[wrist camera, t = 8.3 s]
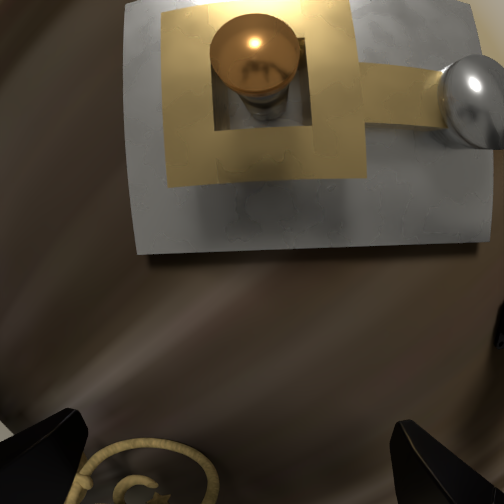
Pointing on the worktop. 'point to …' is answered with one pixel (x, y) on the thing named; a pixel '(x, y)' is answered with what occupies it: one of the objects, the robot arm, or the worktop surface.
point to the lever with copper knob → (257, 62)
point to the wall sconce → (87, 467)
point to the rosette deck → (311, 204)
